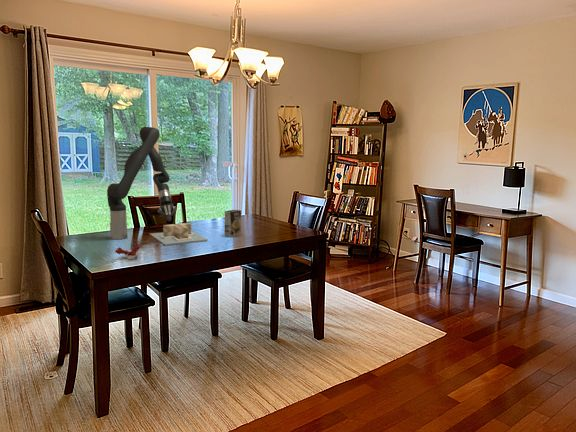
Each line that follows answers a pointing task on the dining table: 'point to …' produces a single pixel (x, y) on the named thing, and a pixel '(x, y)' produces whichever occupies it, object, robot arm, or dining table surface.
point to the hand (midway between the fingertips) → (169, 220)
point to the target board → (175, 241)
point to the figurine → (129, 251)
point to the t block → (177, 230)
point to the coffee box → (232, 223)
